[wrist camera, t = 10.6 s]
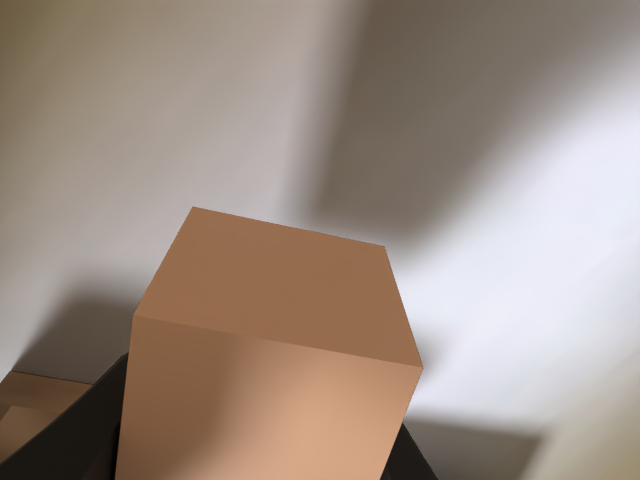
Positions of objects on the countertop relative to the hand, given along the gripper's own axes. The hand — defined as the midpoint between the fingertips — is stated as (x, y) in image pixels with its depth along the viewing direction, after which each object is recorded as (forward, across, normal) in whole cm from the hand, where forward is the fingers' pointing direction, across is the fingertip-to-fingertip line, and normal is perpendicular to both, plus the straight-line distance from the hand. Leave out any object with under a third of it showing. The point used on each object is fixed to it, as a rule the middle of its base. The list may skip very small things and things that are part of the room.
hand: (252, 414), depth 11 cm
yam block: (+2, 0, 0) cm, 2 cm away
